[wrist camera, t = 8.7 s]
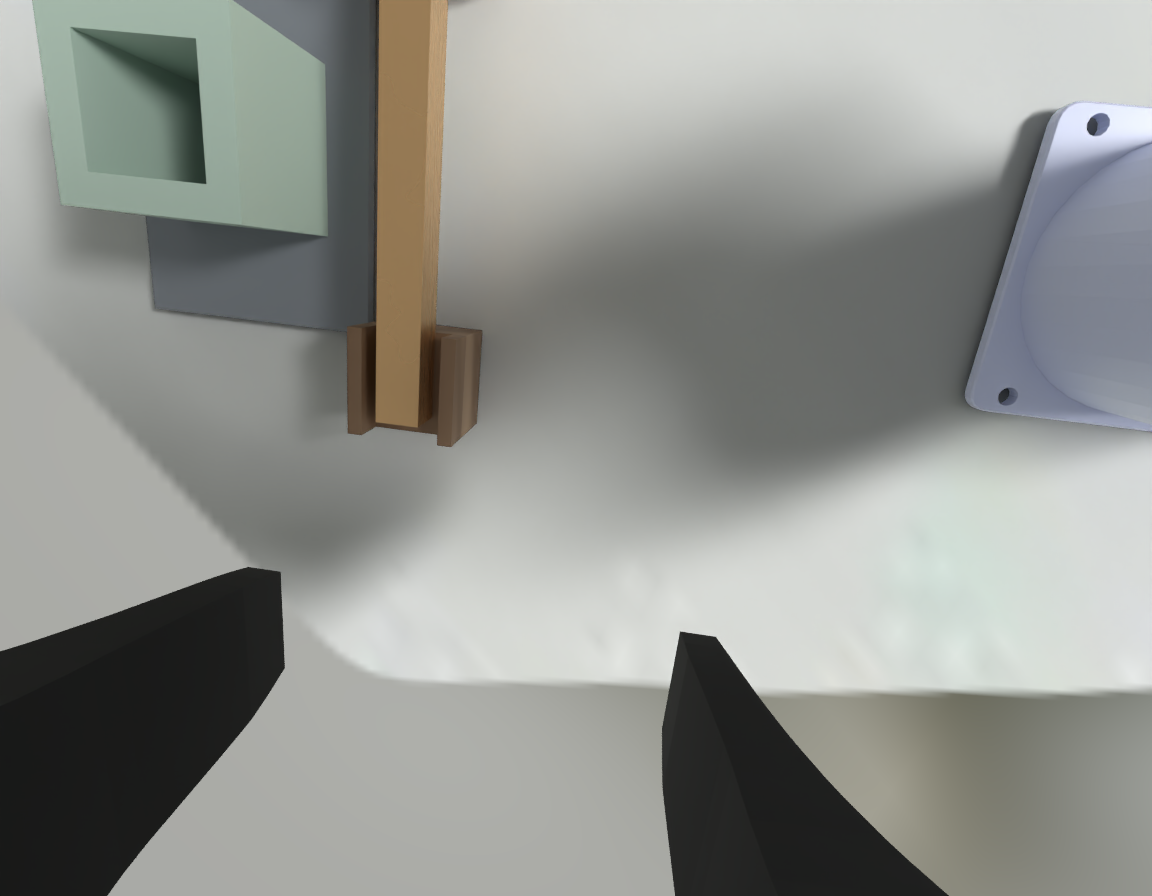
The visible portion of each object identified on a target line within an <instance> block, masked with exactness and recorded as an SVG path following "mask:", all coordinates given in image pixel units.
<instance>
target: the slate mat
mask: <svg viewBox="0 0 1152 896" xmlns="http://www.w3.org/2000/svg"><path fill="white" fill-rule="evenodd" d="M233 1H234V2H236V3H237V4H239V5H240V6H242V7H243V8H245V9H246V10H247V11H249V12H250V13H252V14H253V15H255V16H256V17H258V18H259V19H260V20H262V21H263V22H265V23H266V24H268V25H269V26H270V27H272V28H273V29H275V30H276V31H278V32H279V33H281V34H282V35H283V36H285V37H286V38H288V39H289V40H291V41H292V42H294V43H295V44H296V45H298V46H299V47H301V48H302V49H304V50H305V51H307V52H308V53H309V54H311V55H312V56H314V57H315V58H317V59H318V60H320V61H321V62H322V63H324V64H325V80H326V140H327V200H328V236H319V235H310V234H301V233H292V232H283V231H274V230H265V229H255V228H246V227H237V226H228V225H219V224H210V223H201V222H192V221H183V220H176V219H168V218H160V217H152V216H146V223H147V233H148V243H149V253H150V263H151V273H152V284H153V294H154V304H155V308H157V309H165V310H173V311H181V312H189V313H197V314H205V315H213V316H222V317H230V318H238V319H246V320H254V321H262V322H270V323H278V324H287V325H295V326H303V327H311V328H319V329H327V330H335V331H343V332H347V326H352V325H358V324H364V323H370V322H373V321H374V183H375V46H376V0H233Z"/></svg>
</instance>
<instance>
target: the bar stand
mask: <svg viewBox="0 0 1152 896" xmlns="http://www.w3.org/2000/svg"><path fill="white" fill-rule="evenodd" d="M481 344H482V330H474V329H465V328H457V327H449V326H441V325H436V329H435V355H434V382H433V408H432V418H431V419H429V420H428V421H427V422H425V423H424V424H422V425H421V426H419V427H418V428H417V427H409V426H402V425H394V424H386V423H379V422H376V322H370V323H364V324H358V325H352V326H347V405H348V433H349V434H357V435H362V434H364V433H366V432H368V431H369V430H371V429H373V428H374V427H384V428H391V429H399V430H406V431H414V432H422V433H429V434H437V445H439V446H446V447H452V446H453V445H454V444H455V443H456V442H457V441H458V440H459V439H460V438H461V437H462V436H463V435H465V434H466V433H467V432H468V431H469V430H470V429H471V428H472V427H473V426H474V425H475V424H476V423H477V409H478V393H479V377H480V360H481Z"/></svg>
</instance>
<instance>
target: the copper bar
mask: <svg viewBox="0 0 1152 896" xmlns="http://www.w3.org/2000/svg"><path fill="white" fill-rule="evenodd" d="M447 12H448V0H379V86H378V201H377V315H376V422H379V423H386V424H394V425H402V426H409V427H417V428H418V427H419V426H421V425H422V424H424V423H425V422H427V421H428V420H429V419H431V418H432V408H433V382H434V355H435V329H436V303H437V276H438V250H439V223H440V197H441V171H442V144H443V118H444V91H445V65H446V39H447Z"/></svg>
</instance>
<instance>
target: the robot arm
mask: <svg viewBox="0 0 1152 896" xmlns="http://www.w3.org/2000/svg"><path fill="white" fill-rule="evenodd" d="M1091 117H1092V118H1094V119H1096V121H1097V123H1098V127H1097V131H1096V133H1095V134H1094V136H1092V135H1090V134H1089V133H1088V131H1087V123H1088V121H1089V119H1090V118H1091ZM1005 388H1008V389H1009V396H1008V398H1007V399H1006V400H1005V401H1003V402H1001V403H1000V402H999V401H998V395H999V394H1000V392H1001V391H1002V390H1004V389H1005ZM965 399H966V401H967V403H968V404H969V405H970V406H971V407H973V408H976V409H979V410H982V411H987V412H995V413H1003V414H1012V415H1020V416H1028V417H1036V418H1044V419H1052V420H1060V421H1068V422H1077V423H1085V424H1093V425H1101V426H1109V427H1117V428H1125V429H1133V430H1141V431H1150V432H1152V107H1144V106H1133V105H1123V104H1112V103H1101V102H1090V101H1078V102H1073V103H1071V104H1068V105H1066V106H1064V107H1062V108H1060V109H1058V110H1057V111H1056V112H1055V113H1054V114H1053V115H1052V116H1051V118H1050V120H1049V122H1048V124H1047V127H1046V131H1045V134H1044V137H1043V140H1042V144H1041V147H1040V150H1039V153H1038V157H1037V160H1036V163H1035V166H1034V170H1033V173H1032V176H1031V179H1030V182H1029V186H1028V189H1027V192H1026V195H1025V199H1024V202H1023V205H1022V208H1021V212H1020V215H1019V218H1018V221H1017V225H1016V228H1015V231H1014V234H1013V238H1012V241H1011V244H1010V247H1009V250H1008V254H1007V257H1006V260H1005V263H1004V267H1003V270H1002V273H1001V276H1000V280H999V283H998V286H997V289H996V293H995V296H994V299H993V302H992V306H991V309H990V312H989V315H988V318H987V322H986V325H985V328H984V331H983V335H982V338H981V341H980V344H979V348H978V351H977V354H976V357H975V361H974V364H973V367H972V370H971V374H970V377H969V380H968V383H967V386H966V390H965ZM284 664H285V663H284V641H283V618H282V595H281V572H278V571H271V570H264V569H257V568H251V567H247V568H243V569H240V570H236V571H233V572H229V573H226V574H223V575H220V576H217V577H214V578H211V579H208V580H205V581H202V582H200V583H197V584H194V585H191V586H189V587H186V588H183V589H180V590H177V591H175V592H172V593H169V594H167V595H164V596H161V597H159V598H156V599H153V600H150V601H148V602H145V603H142V604H140V605H137V606H134V607H131V608H128V609H126V610H123V611H120V612H118V613H115V614H112V615H109V616H106V617H104V618H100V619H97V620H95V621H91V622H89V623H86V624H83V625H80V626H77V627H74V628H71V629H68V630H65V631H62V632H59V633H56V634H53V635H50V636H47V637H45V638H41V639H38V640H35V641H32V642H29V643H26V644H23V645H20V646H17V647H13V648H10V649H7V650H4V651H0V896H107V895H108V894H109V893H110V891H111V890H112V888H113V887H114V885H115V884H116V883H117V881H118V880H119V879H120V877H121V876H122V875H123V873H124V872H125V870H126V869H127V868H128V867H129V866H130V864H131V863H132V862H133V860H134V859H135V858H136V857H137V855H138V854H139V853H140V851H141V850H142V849H143V848H144V847H145V845H146V844H147V843H148V842H149V840H150V839H151V838H152V837H153V836H154V835H155V833H156V832H157V831H158V830H159V829H160V827H161V826H162V825H163V824H164V823H165V822H166V820H167V819H168V818H169V817H170V816H171V815H172V813H173V812H174V811H175V810H176V809H177V807H178V806H179V805H180V804H181V803H182V801H183V800H184V799H185V798H186V797H187V796H188V795H189V793H190V792H191V791H192V790H193V788H194V787H195V786H196V785H197V784H198V783H199V782H200V780H201V779H202V778H203V777H204V775H206V773H207V772H208V771H209V770H210V769H211V767H212V766H213V765H214V764H215V763H216V761H217V760H218V759H219V758H220V757H221V756H222V754H223V753H224V752H225V751H226V750H227V748H228V747H229V746H230V745H231V743H232V742H233V741H234V740H235V738H237V736H238V735H239V734H240V732H242V730H243V729H244V728H245V727H246V725H247V724H248V723H249V721H250V720H251V719H252V718H253V716H254V715H255V713H256V712H257V710H258V709H259V707H260V706H261V704H262V703H263V701H264V700H265V699H266V697H267V696H268V694H269V692H270V691H271V689H272V687H273V686H274V684H275V683H276V681H277V679H278V678H279V676H280V674H281V673H282V672H283V670H284V668H285V665H284ZM662 774H663V775H662V782H663V796H664V805H665V813H666V822H667V831H668V840H669V847H670V856H671V865H672V873H673V881H674V890H675V896H948V895H947V894H946V893H945V892H944V891H943V890H942V889H940V888H939V887H938V886H937V885H936V884H935V883H934V882H932V881H931V880H930V879H929V878H928V877H927V876H925V875H924V874H923V873H922V872H921V871H920V870H919V869H918V868H917V867H915V866H914V865H913V864H912V863H911V862H910V861H909V860H907V859H906V858H905V857H904V856H903V855H902V854H901V853H900V852H899V851H898V850H897V849H895V847H894V846H892V845H891V844H890V843H889V842H888V841H887V840H886V839H885V838H884V837H883V836H882V835H881V834H880V833H879V832H878V831H877V830H876V829H875V828H874V827H873V826H872V825H871V824H870V823H869V822H868V821H867V820H866V819H865V818H864V817H863V816H862V815H861V814H860V813H859V812H858V811H857V810H856V809H855V808H854V807H853V806H852V805H851V804H850V803H849V802H848V801H847V800H846V799H845V798H844V797H843V796H842V795H841V794H840V793H839V792H838V791H837V790H836V789H835V788H834V787H833V785H832V784H831V783H830V782H829V781H828V780H827V779H826V778H825V777H824V776H823V775H822V773H821V772H820V771H819V770H818V769H817V768H816V767H815V765H814V764H813V763H812V762H811V761H810V760H809V759H808V757H807V756H806V755H805V754H804V753H803V752H802V751H801V749H800V748H799V747H798V746H797V745H796V744H795V742H794V741H793V740H792V739H791V738H790V737H789V735H788V734H787V733H786V732H785V730H784V729H783V728H782V726H781V725H780V724H779V723H778V721H777V720H776V719H775V717H774V716H773V715H772V714H771V712H770V711H769V710H768V709H767V707H766V706H765V705H764V703H763V702H762V701H761V699H760V698H759V697H758V695H757V694H756V692H755V691H754V690H753V688H752V687H751V686H750V684H749V683H748V681H747V680H746V679H745V677H744V676H743V674H742V673H741V672H740V670H739V669H738V667H737V666H736V665H735V663H734V662H733V660H732V659H731V658H730V656H729V655H728V653H727V652H726V650H725V649H724V648H723V646H722V645H721V644H720V642H719V641H718V639H717V638H716V637H713V636H706V635H699V634H693V633H686V632H680V635H679V641H678V646H677V651H676V657H675V662H674V667H673V673H672V678H671V683H670V689H669V694H668V700H667V705H666V711H665V716H664V721H663V726H662Z"/></svg>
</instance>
